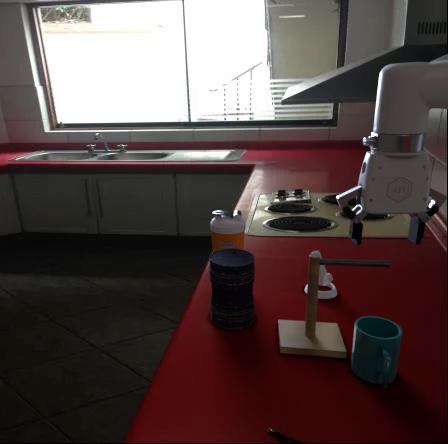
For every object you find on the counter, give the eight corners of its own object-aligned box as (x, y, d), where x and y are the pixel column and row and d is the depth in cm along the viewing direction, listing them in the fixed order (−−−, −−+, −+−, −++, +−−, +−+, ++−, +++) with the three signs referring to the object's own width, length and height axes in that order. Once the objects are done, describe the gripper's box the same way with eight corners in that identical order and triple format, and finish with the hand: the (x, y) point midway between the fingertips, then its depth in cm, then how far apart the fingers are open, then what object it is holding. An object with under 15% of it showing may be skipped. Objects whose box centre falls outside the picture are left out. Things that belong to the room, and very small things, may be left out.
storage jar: (250, 332, 89) (251, 268, 84) (205, 326, 92) (203, 264, 88) (257, 309, 98) (258, 250, 93) (216, 304, 101) (214, 247, 97)
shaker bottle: (210, 277, 116) (208, 207, 109) (242, 275, 115) (242, 206, 109) (212, 292, 107) (211, 218, 101) (247, 291, 107) (248, 216, 101)
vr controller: (306, 257, 112) (328, 249, 106) (322, 301, 108) (345, 295, 103) (288, 259, 107) (311, 250, 102) (304, 305, 104) (328, 298, 98)
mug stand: (372, 331, 87) (382, 247, 81) (386, 361, 77) (398, 269, 72) (278, 325, 91) (280, 245, 85) (280, 353, 82) (283, 265, 76)
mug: (347, 356, 79) (351, 314, 77) (389, 359, 78) (394, 317, 75) (360, 395, 70) (365, 349, 67) (408, 400, 68) (415, 353, 65)
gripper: (349, 148, 65) (339, 250, 70) (468, 145, 63) (449, 250, 68) (335, 142, 72) (327, 235, 77) (441, 139, 70) (426, 234, 75)
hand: (384, 242), depth 73 cm, fingers open, 9 cm apart
